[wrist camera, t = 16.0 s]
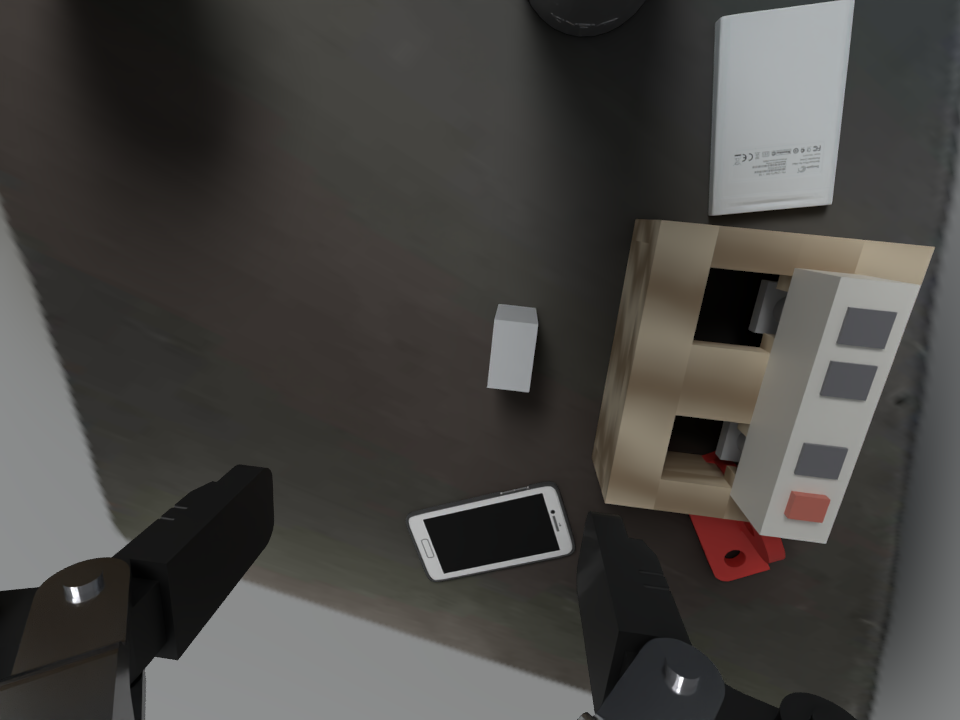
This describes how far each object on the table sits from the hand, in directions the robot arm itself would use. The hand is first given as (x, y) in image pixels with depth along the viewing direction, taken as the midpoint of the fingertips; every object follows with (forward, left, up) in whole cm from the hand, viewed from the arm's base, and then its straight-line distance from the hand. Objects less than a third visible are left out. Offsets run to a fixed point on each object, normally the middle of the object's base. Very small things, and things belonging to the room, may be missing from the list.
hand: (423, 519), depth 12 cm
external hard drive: (-16, +18, -29) cm, 37 cm away
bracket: (+16, +22, -28) cm, 39 cm away
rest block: (+2, +2, -28) cm, 28 cm away
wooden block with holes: (+2, +18, -28) cm, 33 cm away
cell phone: (+21, +2, -29) cm, 36 cm away
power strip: (+2, +20, -25) cm, 32 cm away
